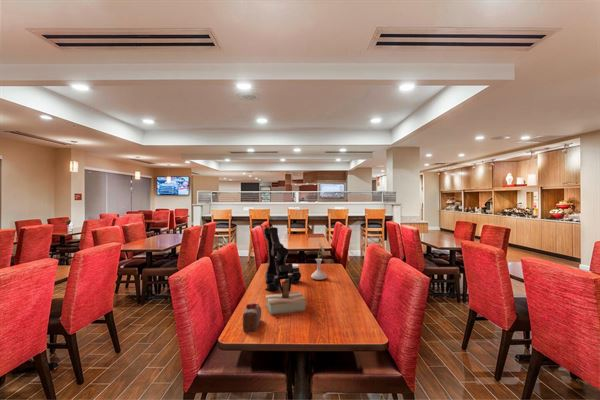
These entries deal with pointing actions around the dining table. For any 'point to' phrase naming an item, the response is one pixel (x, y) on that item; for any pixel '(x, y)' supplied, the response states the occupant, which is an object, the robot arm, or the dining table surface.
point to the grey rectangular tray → (285, 308)
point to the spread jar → (295, 269)
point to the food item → (251, 317)
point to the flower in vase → (319, 273)
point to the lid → (285, 296)
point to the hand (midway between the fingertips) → (286, 292)
